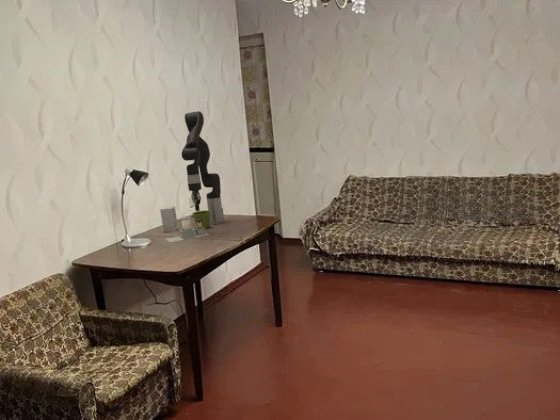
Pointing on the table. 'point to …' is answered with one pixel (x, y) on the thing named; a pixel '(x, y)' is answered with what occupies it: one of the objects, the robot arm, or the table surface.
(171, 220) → the skincare box
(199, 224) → the plunger
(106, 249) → the table surface
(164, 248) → the table surface
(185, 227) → the cartridge
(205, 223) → the plant pot
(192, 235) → the housing
